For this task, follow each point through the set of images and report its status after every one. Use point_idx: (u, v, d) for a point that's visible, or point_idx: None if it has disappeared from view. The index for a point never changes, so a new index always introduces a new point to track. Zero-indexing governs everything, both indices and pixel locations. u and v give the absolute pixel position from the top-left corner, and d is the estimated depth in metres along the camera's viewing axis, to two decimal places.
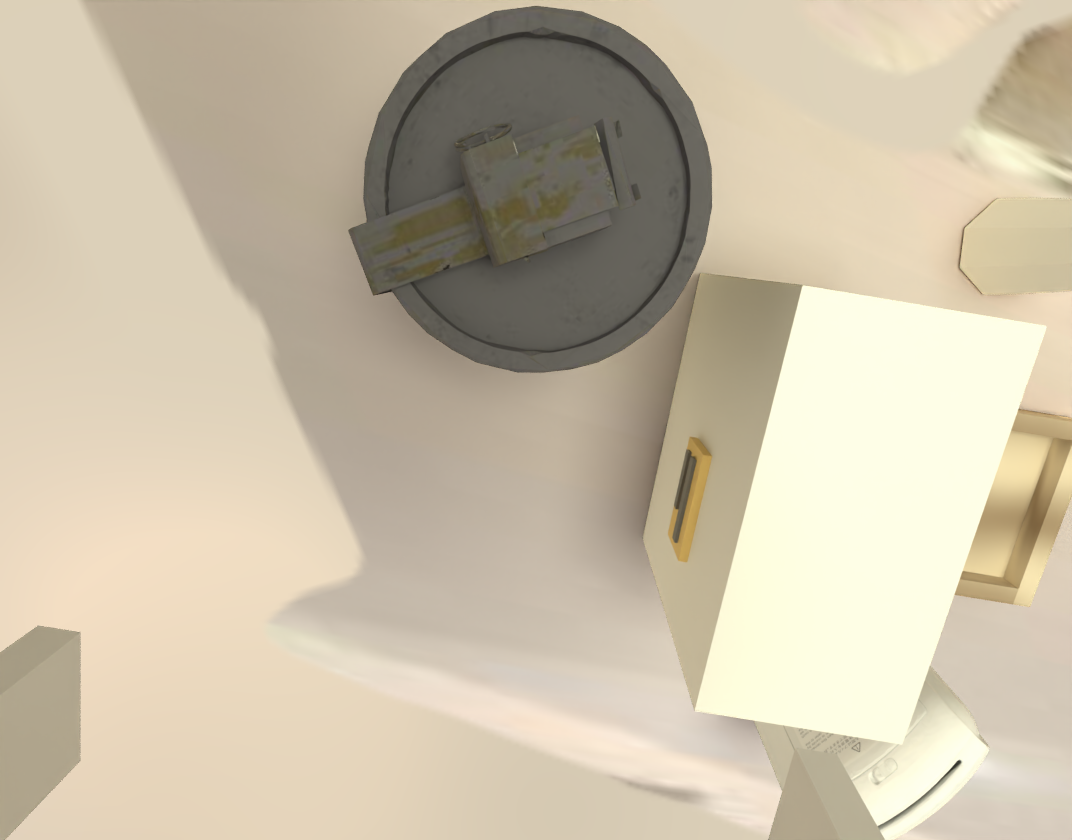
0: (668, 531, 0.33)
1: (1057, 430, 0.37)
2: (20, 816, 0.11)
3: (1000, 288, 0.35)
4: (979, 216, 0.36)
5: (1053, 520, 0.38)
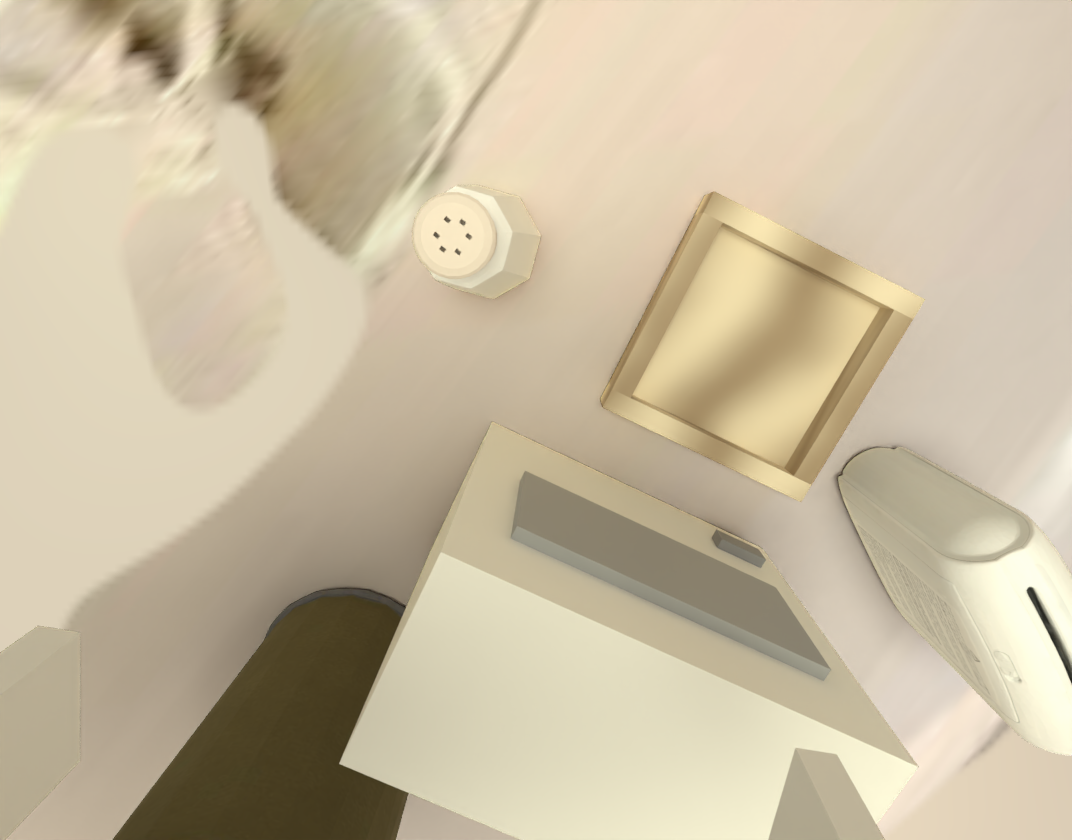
0: None
1: (703, 239, 0.31)
2: (20, 816, 0.11)
3: (518, 280, 0.31)
4: None
5: (817, 257, 0.31)
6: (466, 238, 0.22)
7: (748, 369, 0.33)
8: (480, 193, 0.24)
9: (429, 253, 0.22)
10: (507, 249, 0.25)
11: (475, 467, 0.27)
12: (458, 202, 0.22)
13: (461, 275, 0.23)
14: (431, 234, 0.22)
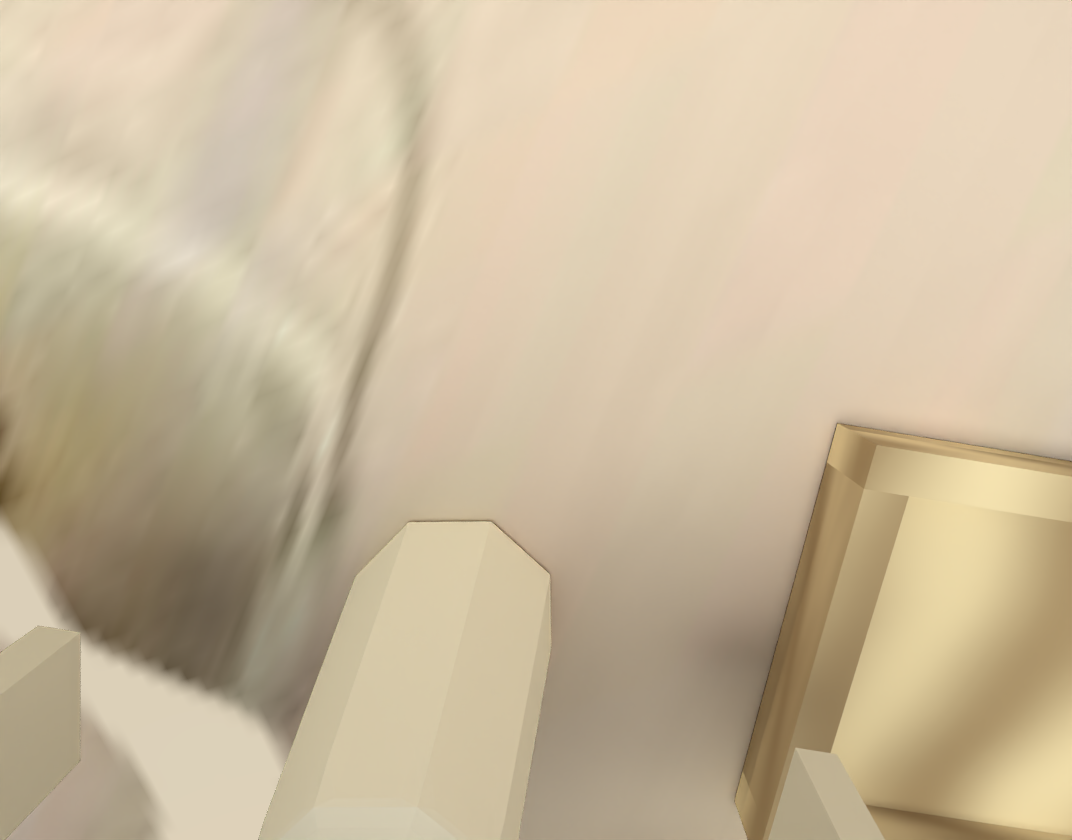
0: None
1: (877, 537, 0.15)
2: (20, 817, 0.11)
3: None
4: None
5: None
6: None
7: (1004, 702, 0.17)
8: (382, 806, 0.09)
9: None
10: None
11: None
12: None
13: None
14: None
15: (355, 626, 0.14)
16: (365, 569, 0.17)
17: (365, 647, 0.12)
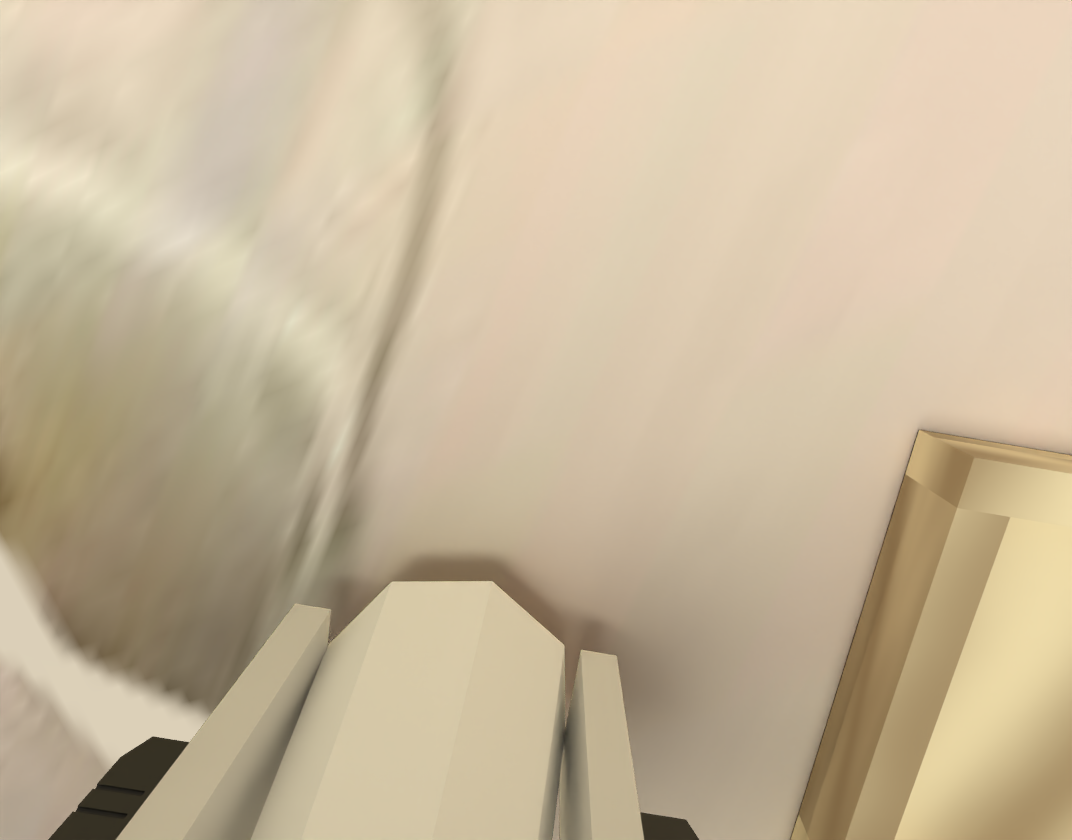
0: None
1: (970, 563, 0.13)
2: None
3: None
4: None
5: None
6: None
7: None
8: None
9: None
10: None
11: None
12: None
13: None
14: None
15: (316, 732, 0.11)
16: (338, 639, 0.14)
17: (321, 779, 0.09)
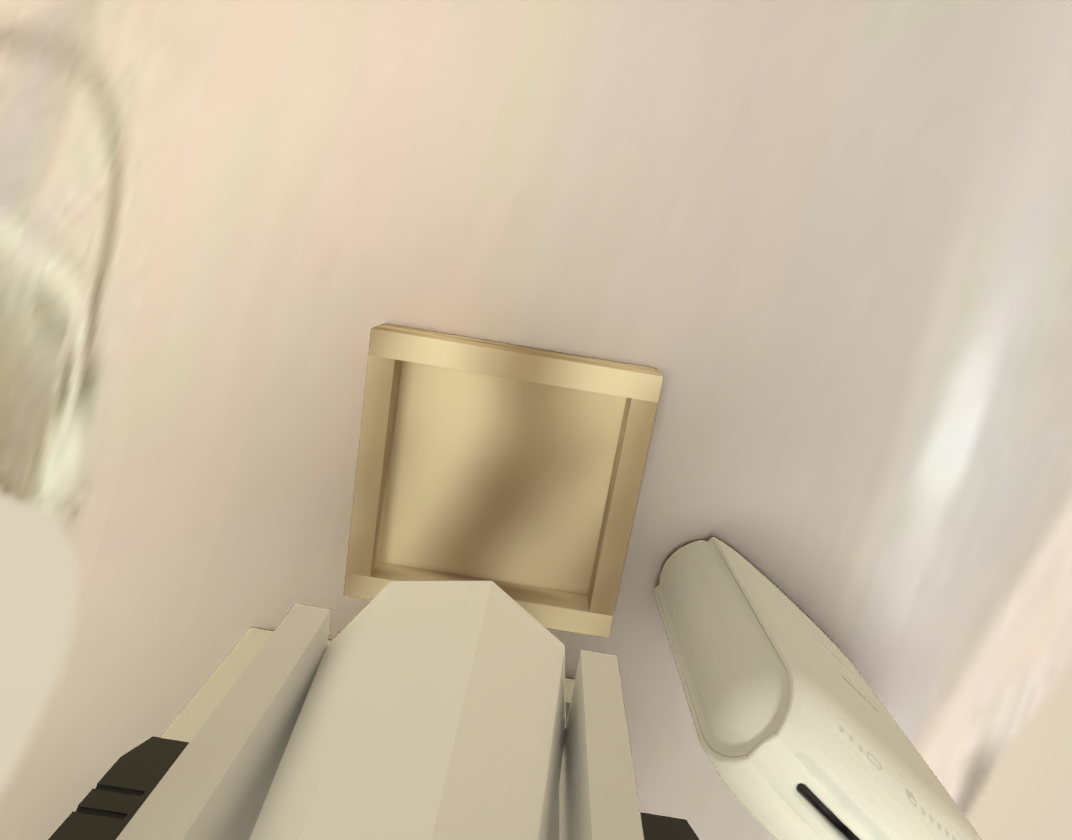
0: None
1: (380, 384, 0.25)
2: None
3: None
4: None
5: (518, 366, 0.25)
6: None
7: (503, 500, 0.28)
8: None
9: None
10: None
11: None
12: None
13: None
14: None
15: (315, 733, 0.11)
16: (338, 639, 0.14)
17: (320, 780, 0.09)
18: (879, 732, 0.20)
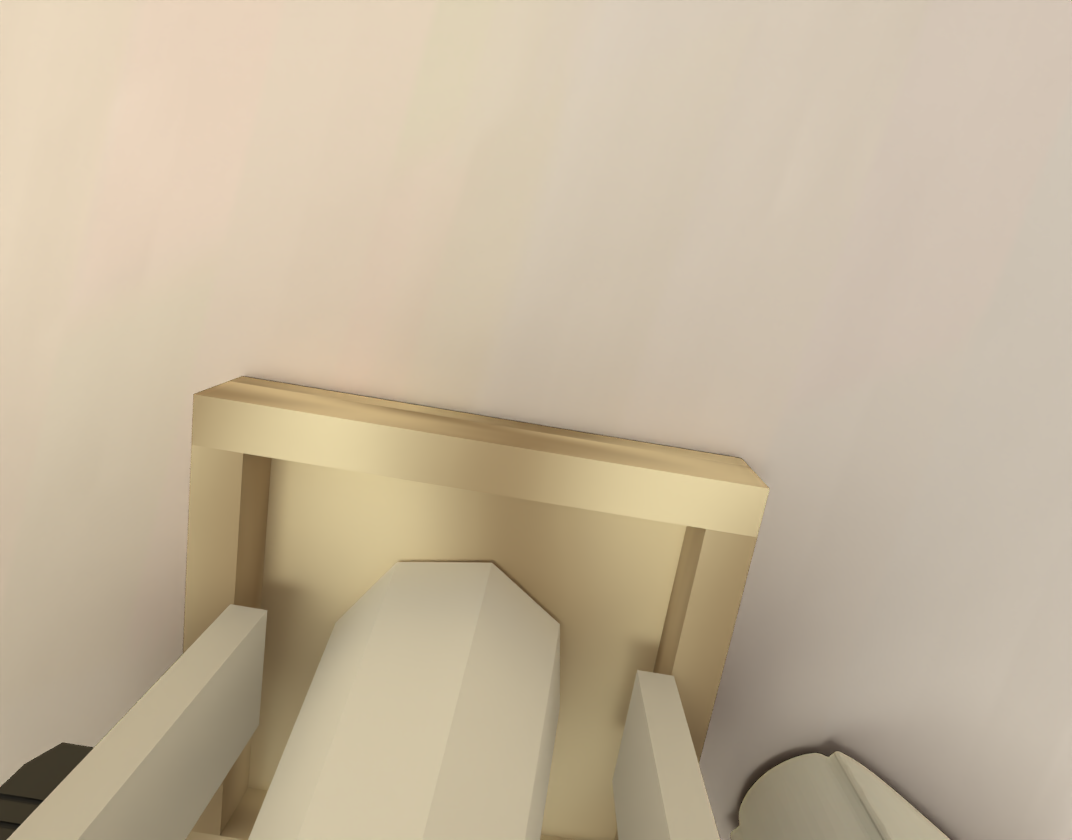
0: None
1: (219, 500, 0.13)
2: (223, 770, 0.13)
3: None
4: None
5: (485, 466, 0.13)
6: None
7: None
8: None
9: None
10: None
11: None
12: None
13: None
14: None
15: (327, 697, 0.12)
16: (346, 615, 0.15)
17: (333, 735, 0.10)
18: None
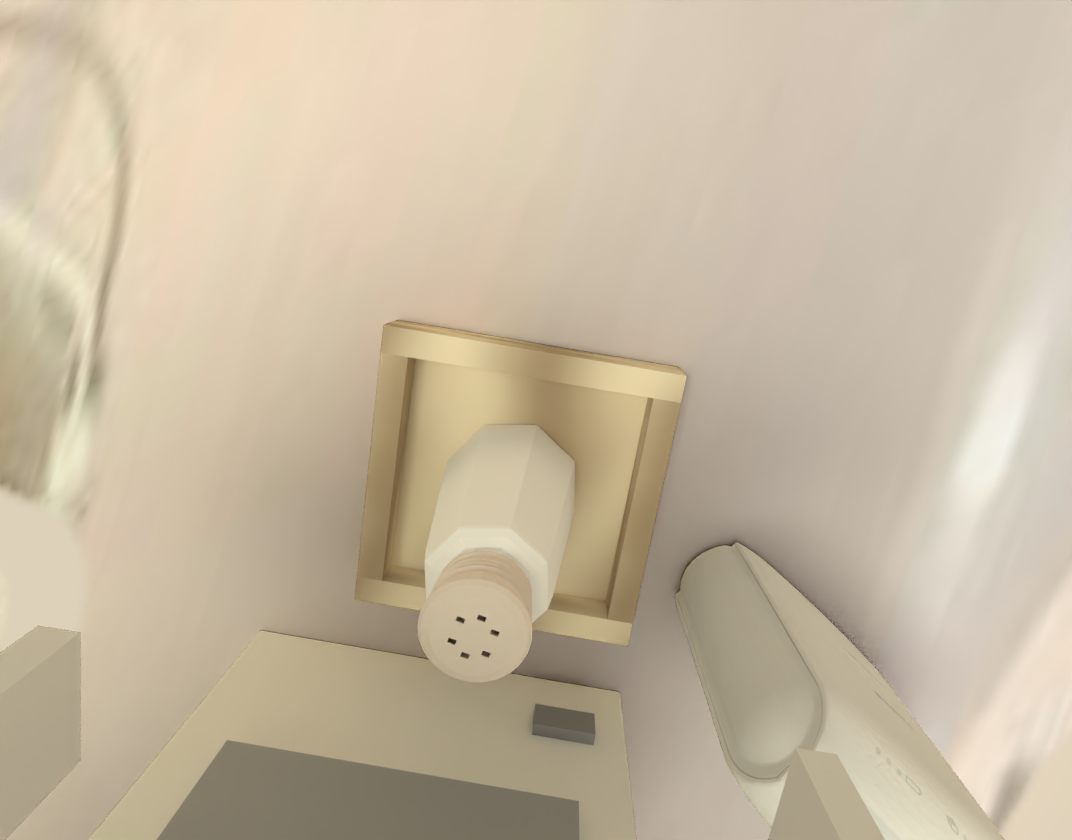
0: None
1: (393, 383, 0.25)
2: (20, 816, 0.11)
3: None
4: None
5: (536, 364, 0.24)
6: (492, 636, 0.16)
7: None
8: (493, 528, 0.18)
9: (449, 664, 0.16)
10: (546, 585, 0.18)
11: (154, 761, 0.22)
12: (469, 595, 0.16)
13: (498, 677, 0.16)
14: (445, 642, 0.16)
15: (458, 475, 0.23)
16: (455, 454, 0.26)
17: (470, 476, 0.21)
18: (916, 753, 0.19)
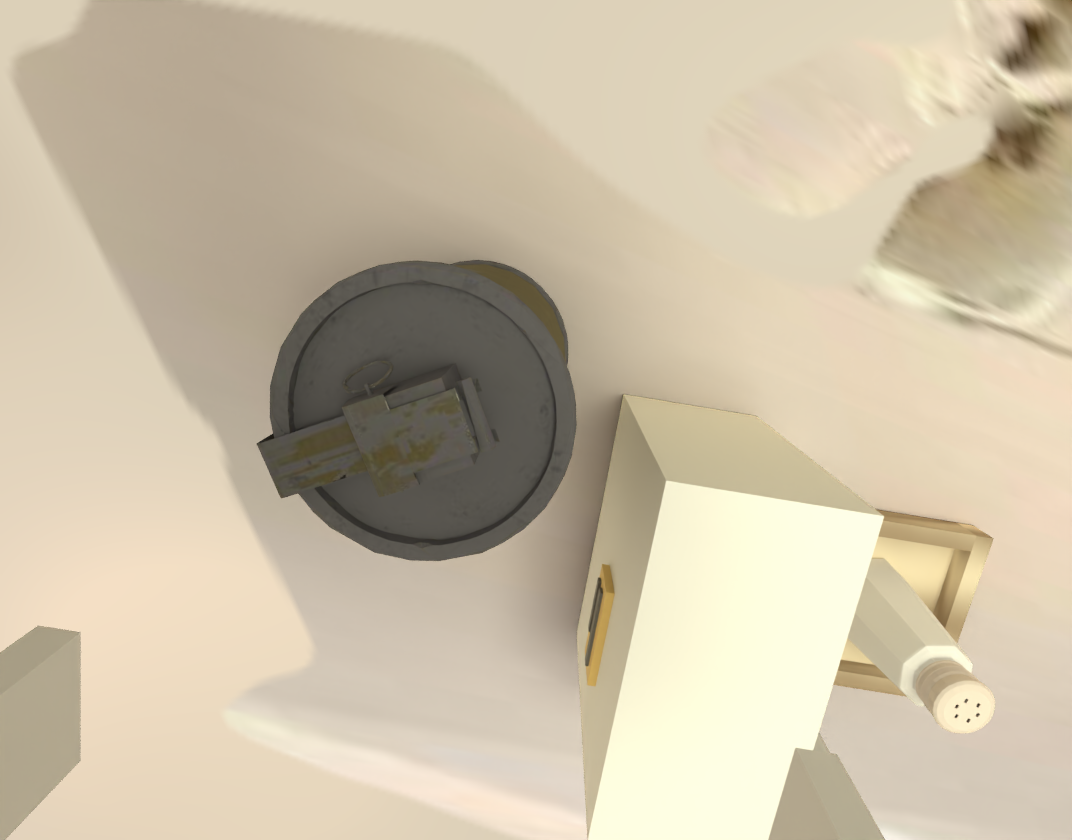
0: (585, 648, 0.35)
1: (956, 542, 0.39)
2: (20, 817, 0.11)
3: None
4: None
5: (955, 623, 0.40)
6: (966, 719, 0.31)
7: None
8: None
9: (952, 698, 0.31)
10: None
11: (803, 454, 0.32)
12: (990, 709, 0.31)
13: (938, 719, 0.31)
14: (966, 698, 0.31)
15: (921, 601, 0.38)
16: (891, 566, 0.41)
17: None
18: None
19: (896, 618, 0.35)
